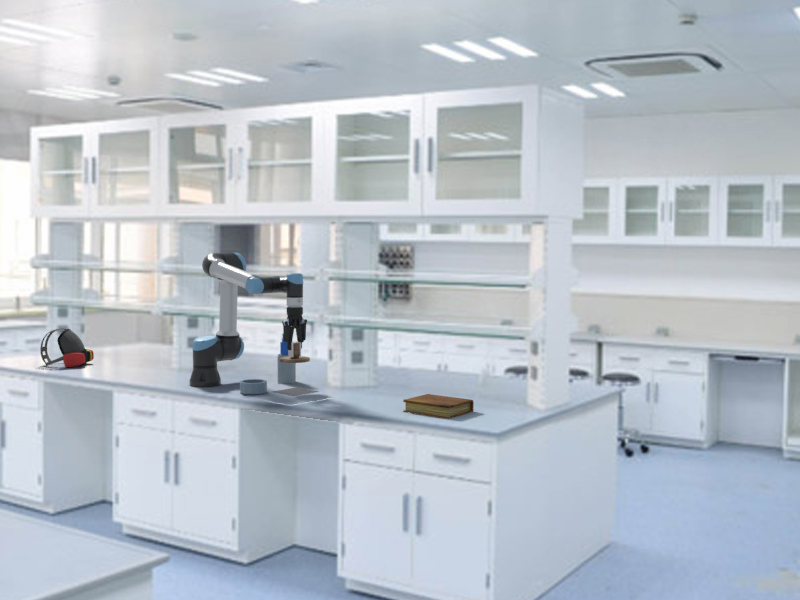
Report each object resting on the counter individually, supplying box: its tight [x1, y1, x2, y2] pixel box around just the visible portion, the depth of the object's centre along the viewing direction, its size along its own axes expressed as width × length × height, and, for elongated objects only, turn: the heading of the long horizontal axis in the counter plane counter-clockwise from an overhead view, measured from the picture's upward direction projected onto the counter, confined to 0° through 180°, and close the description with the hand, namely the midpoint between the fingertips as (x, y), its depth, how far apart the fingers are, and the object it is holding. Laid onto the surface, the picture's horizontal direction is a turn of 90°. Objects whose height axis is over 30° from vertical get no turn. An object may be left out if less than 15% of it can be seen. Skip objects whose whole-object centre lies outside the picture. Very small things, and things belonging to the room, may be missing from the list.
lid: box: [280, 342, 311, 364], centre depth 424 cm, size 14×14×8 cm
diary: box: [402, 393, 474, 420], centre depth 383 cm, size 23×19×6 cm
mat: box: [271, 387, 320, 397], centre depth 425 cm, size 16×16×1 cm
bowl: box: [239, 378, 268, 397], centre depth 422 cm, size 12×12×6 cm
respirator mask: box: [39, 328, 95, 368], centre depth 508 cm, size 22×24×25 cm
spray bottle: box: [277, 333, 297, 385], centre depth 451 cm, size 9×9×25 cm
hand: (294, 356), depth 424 cm, fingers closed on lid, 4 cm apart
